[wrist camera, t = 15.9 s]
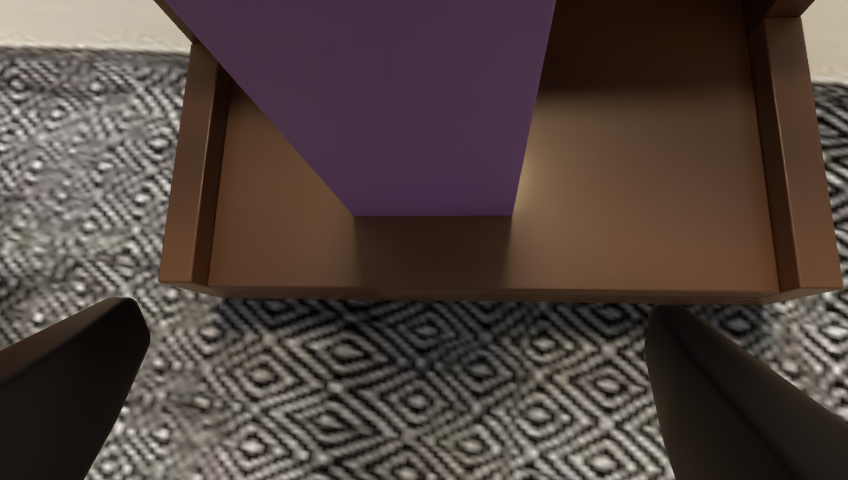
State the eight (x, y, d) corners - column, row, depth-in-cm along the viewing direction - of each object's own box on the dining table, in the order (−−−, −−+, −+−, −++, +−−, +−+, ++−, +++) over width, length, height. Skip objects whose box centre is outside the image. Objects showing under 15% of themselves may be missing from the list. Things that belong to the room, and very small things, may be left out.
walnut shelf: (763, 305, 19) (1102, 236, 9) (221, 298, 22) (-27, 236, 11) (724, -20, 23) (939, -358, 12) (254, 5, 25) (85, -261, 14)
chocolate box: (513, 216, 18) (590, -143, 5) (352, 217, 18) (67, -102, 6) (512, 106, 19) (574, -428, 6) (358, 110, 19) (124, -367, 7)
